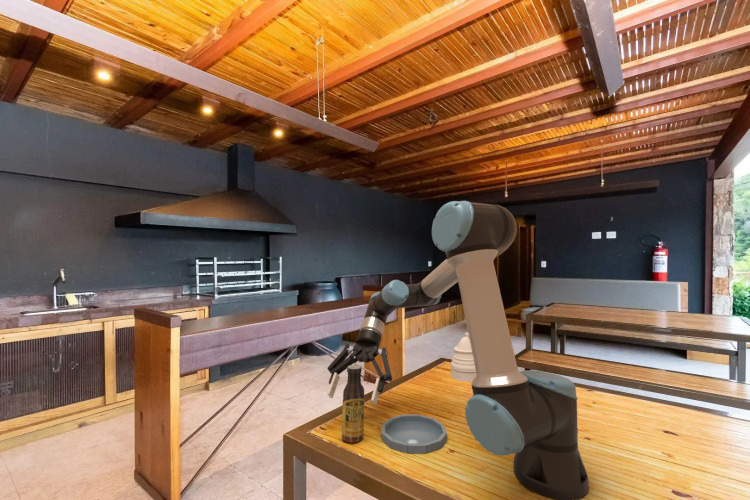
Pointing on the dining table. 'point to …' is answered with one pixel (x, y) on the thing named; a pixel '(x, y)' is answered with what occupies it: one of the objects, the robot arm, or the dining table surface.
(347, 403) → the sauce bottle
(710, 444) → the dining table surface
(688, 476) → the dining table surface
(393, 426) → the serving plate
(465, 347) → the honey pot
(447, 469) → the dining table surface
